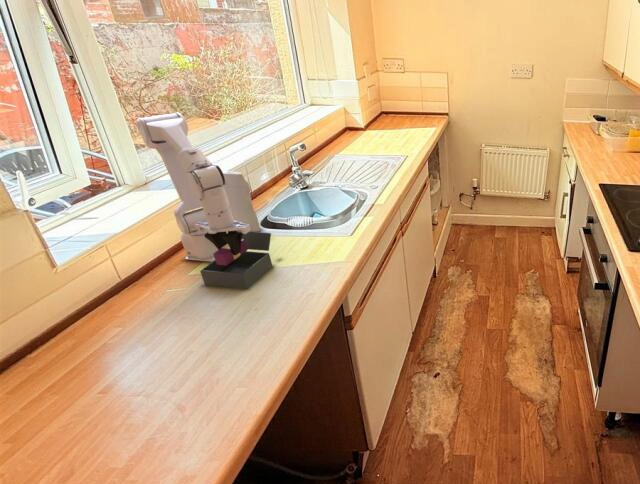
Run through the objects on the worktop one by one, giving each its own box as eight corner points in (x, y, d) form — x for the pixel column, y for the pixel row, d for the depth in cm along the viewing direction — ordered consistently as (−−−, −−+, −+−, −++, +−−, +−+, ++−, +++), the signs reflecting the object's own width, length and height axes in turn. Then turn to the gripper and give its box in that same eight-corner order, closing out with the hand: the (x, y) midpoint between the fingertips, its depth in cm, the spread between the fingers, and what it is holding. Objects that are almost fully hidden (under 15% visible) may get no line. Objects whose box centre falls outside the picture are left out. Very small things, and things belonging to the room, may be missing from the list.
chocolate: (216, 264, 109) (212, 253, 108) (238, 249, 117) (234, 238, 115) (226, 265, 109) (223, 254, 108) (247, 249, 116) (244, 239, 115)
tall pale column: (229, 231, 139) (211, 172, 130) (238, 225, 143) (221, 168, 134) (257, 233, 138) (240, 174, 129) (265, 227, 142) (249, 170, 133)
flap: (230, 230, 120) (232, 230, 120) (228, 247, 119) (229, 247, 120) (270, 233, 118) (271, 233, 119) (268, 250, 118) (268, 250, 118)
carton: (205, 285, 112) (199, 270, 110) (233, 263, 122) (229, 249, 120) (247, 288, 111) (242, 274, 109) (272, 266, 120) (269, 252, 118)
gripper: (179, 214, 104) (195, 258, 109) (231, 218, 102) (244, 262, 108) (202, 203, 110) (216, 245, 116) (250, 206, 109) (262, 249, 114)
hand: (231, 252), depth 112 cm, fingers closed on chocolate, 3 cm apart
